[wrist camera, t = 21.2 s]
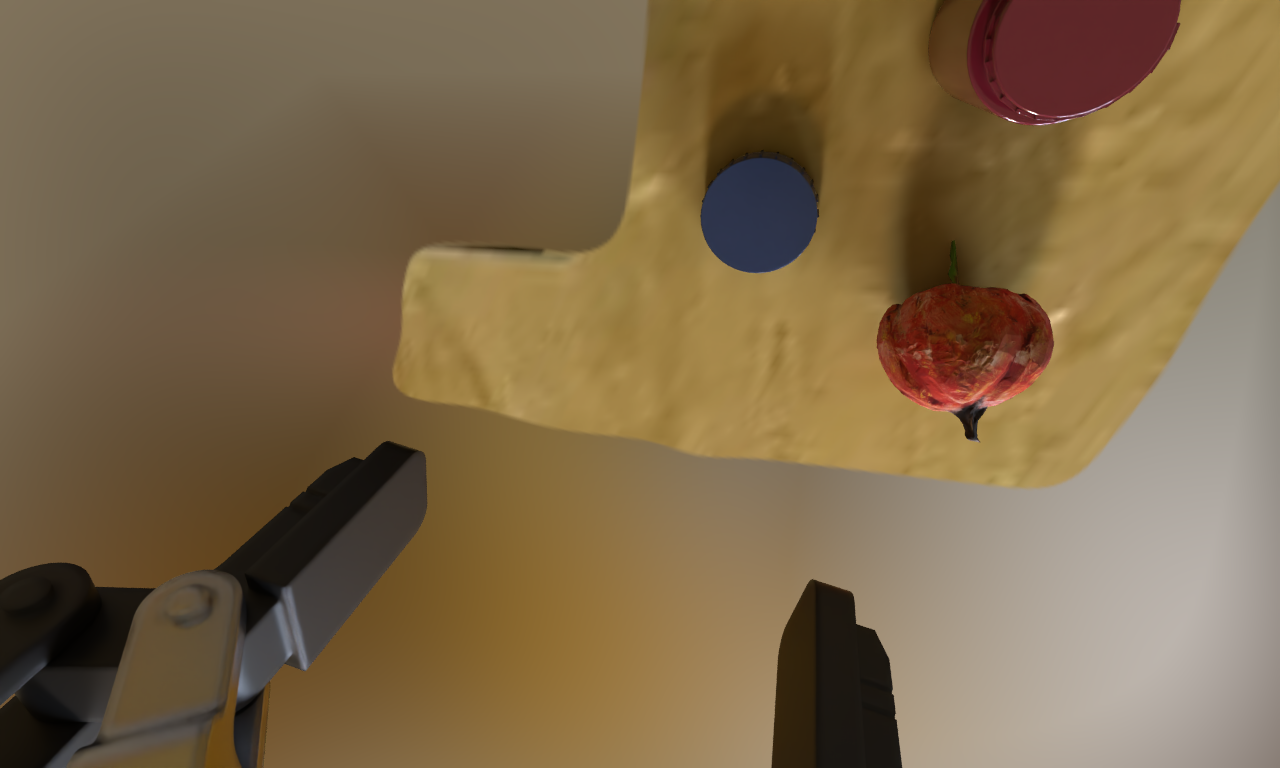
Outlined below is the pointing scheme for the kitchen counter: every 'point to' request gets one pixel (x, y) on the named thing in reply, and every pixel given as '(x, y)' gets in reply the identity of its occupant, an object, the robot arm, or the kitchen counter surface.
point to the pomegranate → (964, 347)
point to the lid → (759, 212)
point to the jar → (1048, 53)
